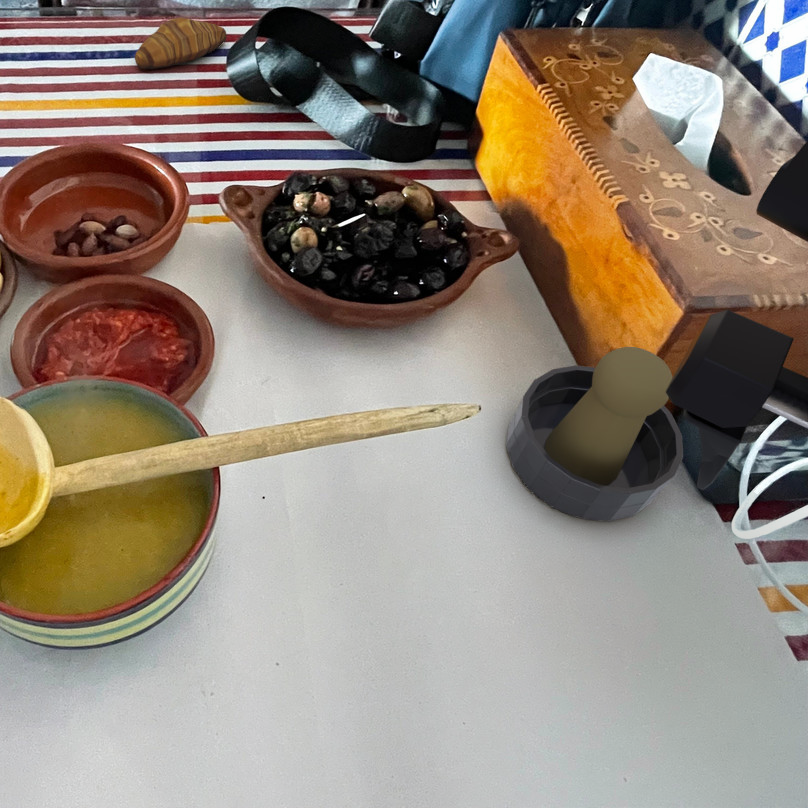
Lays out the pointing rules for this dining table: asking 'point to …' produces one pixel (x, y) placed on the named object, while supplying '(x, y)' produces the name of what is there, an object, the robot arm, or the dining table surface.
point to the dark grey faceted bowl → (575, 495)
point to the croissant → (179, 43)
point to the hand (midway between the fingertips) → (782, 525)
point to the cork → (610, 414)
